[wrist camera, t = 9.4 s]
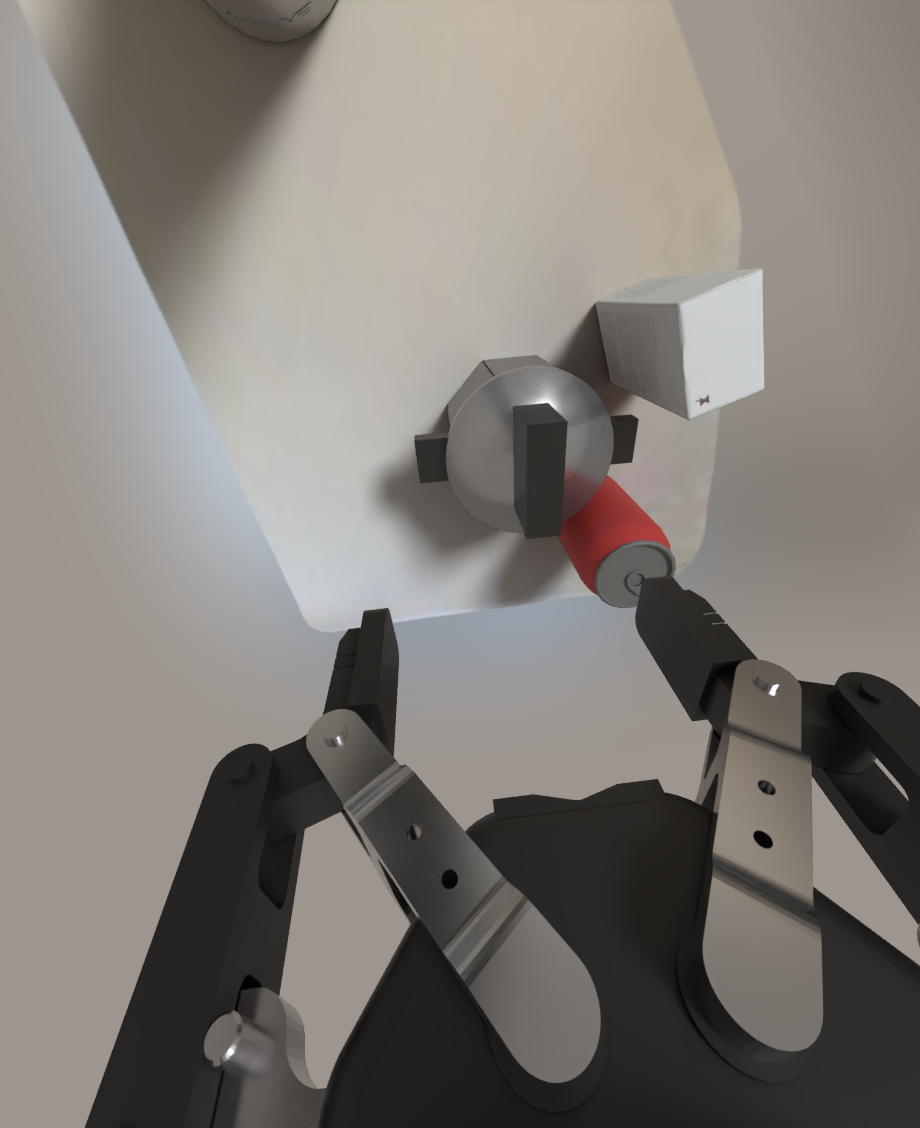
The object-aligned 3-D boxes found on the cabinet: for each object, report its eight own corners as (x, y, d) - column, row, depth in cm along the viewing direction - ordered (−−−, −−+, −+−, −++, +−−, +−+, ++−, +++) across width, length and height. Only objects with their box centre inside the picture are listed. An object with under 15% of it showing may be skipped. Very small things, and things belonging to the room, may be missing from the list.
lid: (436, 374, 26) (438, 392, 22) (619, 356, 26) (657, 370, 22) (453, 534, 32) (457, 573, 28) (600, 519, 32) (627, 556, 28)
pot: (410, 367, 32) (406, 385, 26) (608, 348, 32) (648, 362, 26) (426, 490, 37) (426, 528, 32) (595, 474, 38) (626, 508, 32)
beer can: (562, 545, 41) (605, 627, 31) (535, 491, 38) (573, 564, 28) (626, 513, 40) (693, 589, 30) (604, 454, 37) (670, 517, 27)
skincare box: (663, 360, 33) (766, 392, 23) (609, 383, 34) (686, 424, 24) (652, 272, 30) (767, 265, 20) (592, 299, 30) (674, 306, 20)
